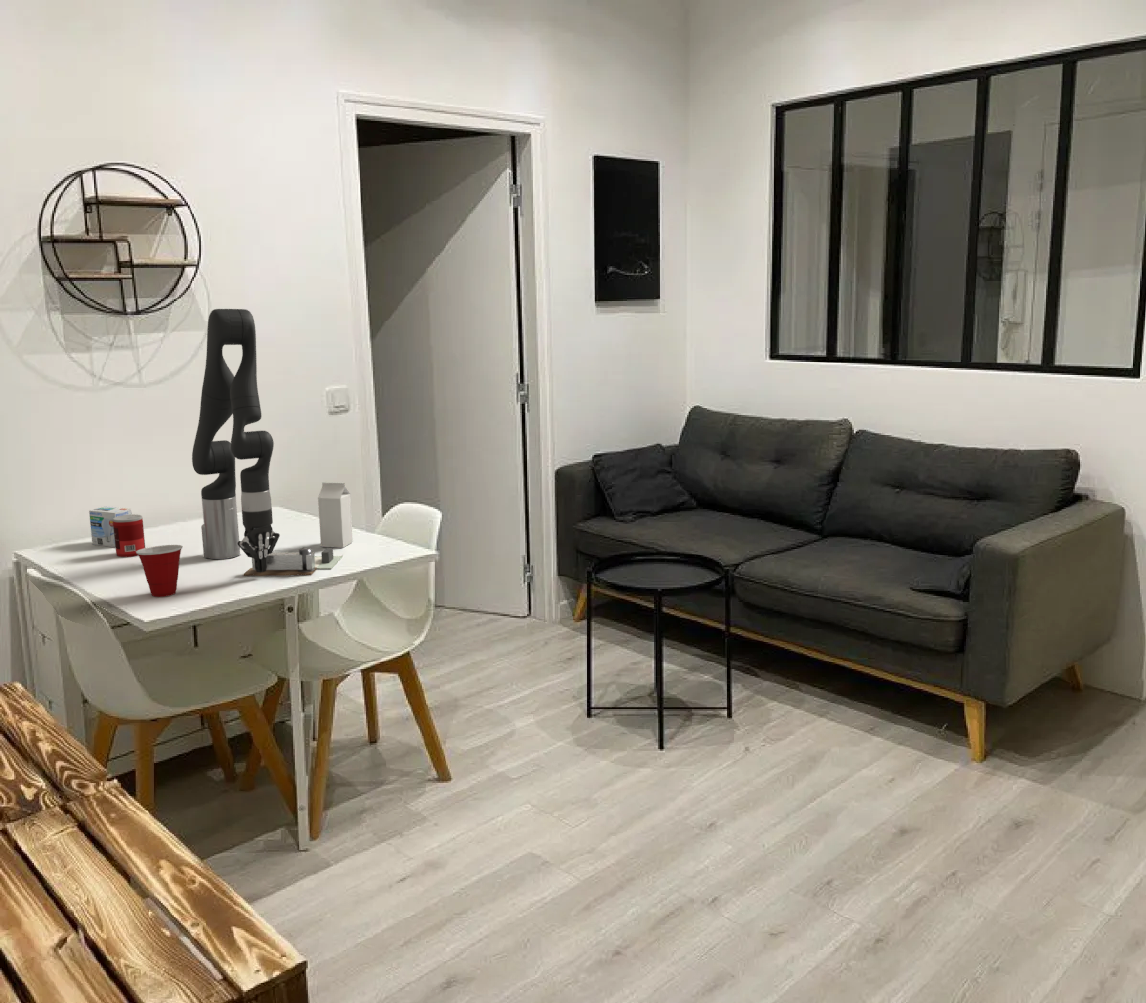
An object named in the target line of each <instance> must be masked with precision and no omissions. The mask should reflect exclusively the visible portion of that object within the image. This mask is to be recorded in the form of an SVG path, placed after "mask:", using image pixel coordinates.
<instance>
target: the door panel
mask: <svg viewBox="0 0 1146 1003" xmlns="http://www.w3.org/2000/svg"><path fill="white" fill-rule="evenodd" d="M314 556H315V555H314ZM342 558H343V556H342V555H333V560H332V561H331V562H330V563H322V555H316V556H315V567H317V570H333V569H334V567H335V566H336V565H337V564H338V563H339V562H340V561H341V559H342ZM338 561H339V562H338ZM251 568H253V567H252V566H251Z"/></svg>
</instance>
